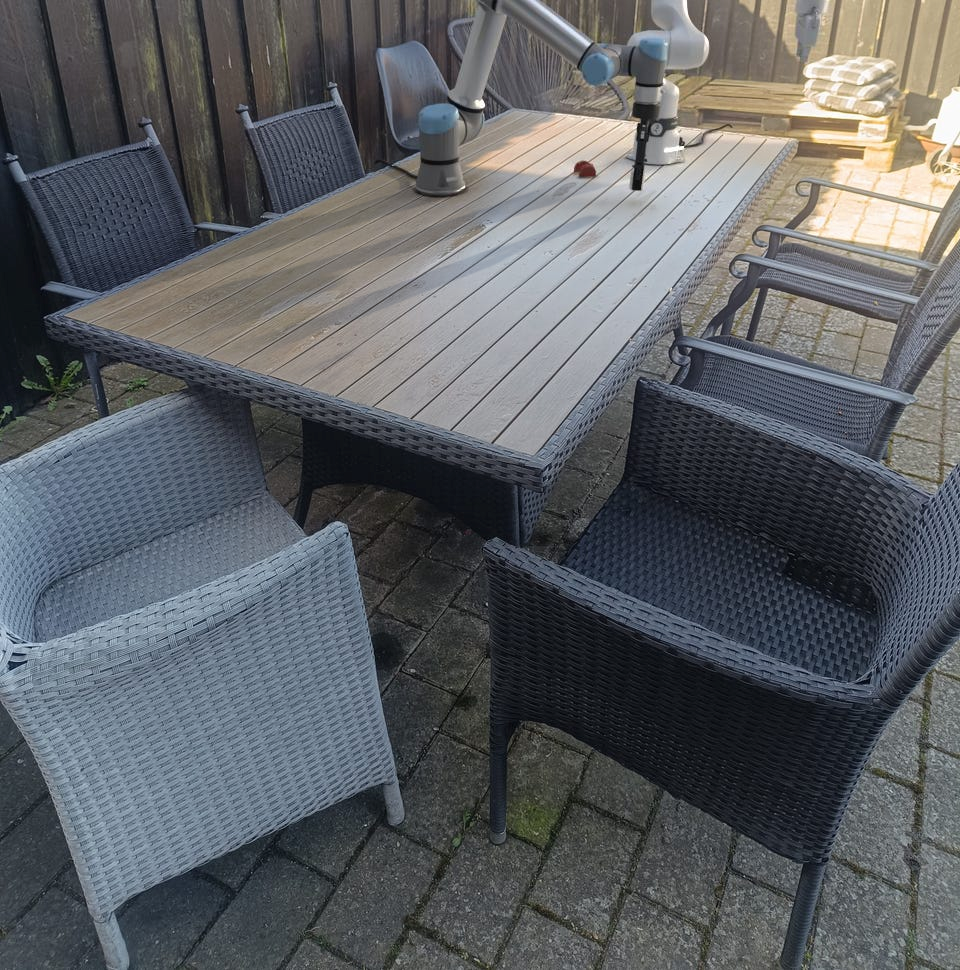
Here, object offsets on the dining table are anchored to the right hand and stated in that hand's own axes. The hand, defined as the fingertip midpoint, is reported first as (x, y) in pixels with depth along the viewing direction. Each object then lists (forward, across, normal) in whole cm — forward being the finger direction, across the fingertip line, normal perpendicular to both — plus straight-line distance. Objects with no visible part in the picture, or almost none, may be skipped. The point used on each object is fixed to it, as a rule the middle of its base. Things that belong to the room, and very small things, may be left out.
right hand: (801, 59), depth 248 cm
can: (+31, -32, +44) cm, 62 cm away
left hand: (+30, -32, +44) cm, 62 cm away
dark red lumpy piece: (+34, -6, +61) cm, 70 cm away
